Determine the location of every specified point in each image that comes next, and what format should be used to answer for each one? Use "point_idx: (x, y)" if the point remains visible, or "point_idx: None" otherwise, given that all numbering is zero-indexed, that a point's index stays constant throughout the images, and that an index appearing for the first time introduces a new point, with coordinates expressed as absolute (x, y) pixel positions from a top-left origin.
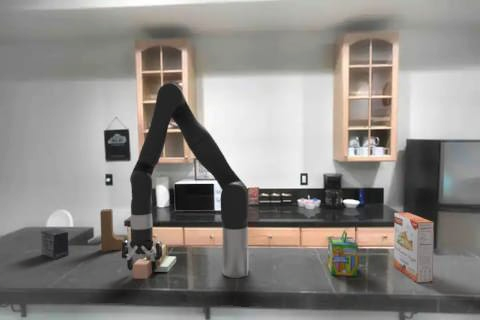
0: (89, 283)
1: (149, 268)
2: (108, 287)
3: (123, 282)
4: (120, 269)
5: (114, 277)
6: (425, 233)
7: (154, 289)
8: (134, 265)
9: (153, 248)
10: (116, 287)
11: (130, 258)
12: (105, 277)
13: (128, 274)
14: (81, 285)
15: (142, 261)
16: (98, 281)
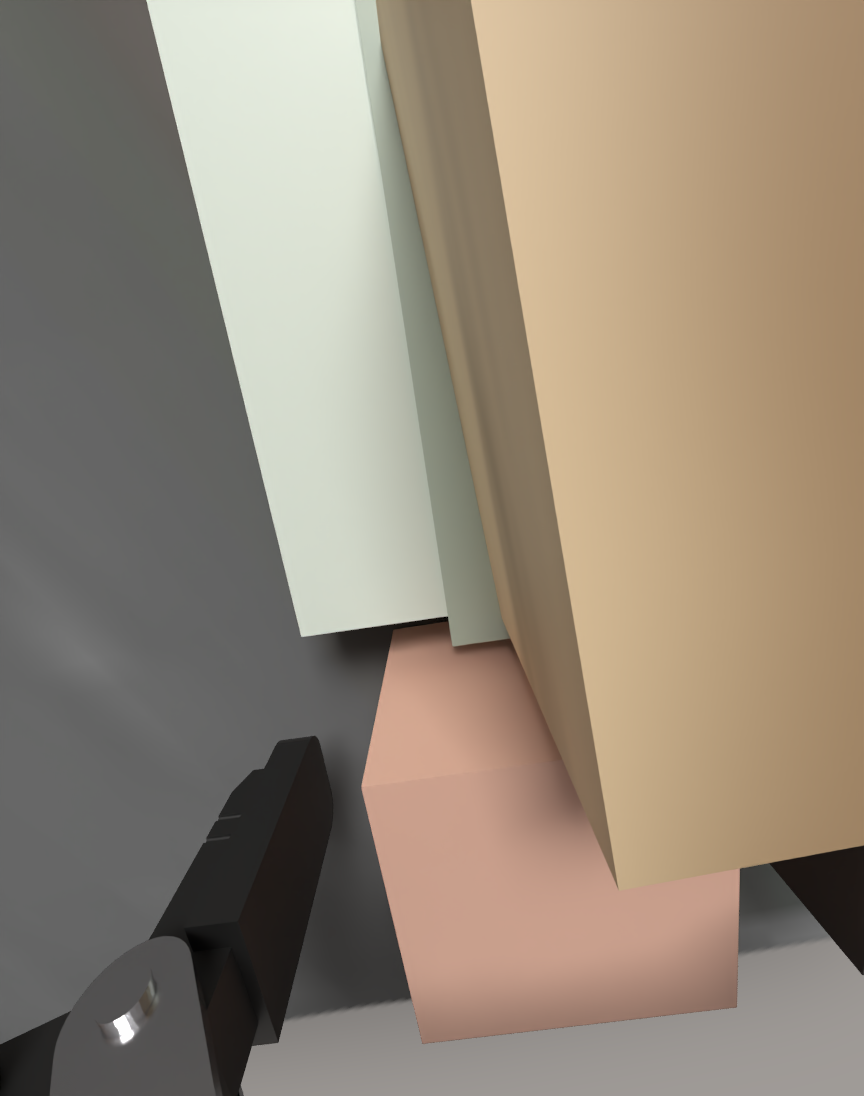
0: (39, 980)
1: None
2: (304, 999)
3: (381, 895)
4: (52, 610)
5: (181, 824)
6: None
7: (800, 942)
8: (460, 1018)
9: (798, 136)
10: (384, 985)
11: (236, 1087)
12: (75, 846)
13: (292, 721)
14: (4, 1022)
15: (542, 879)
16: (89, 932)
